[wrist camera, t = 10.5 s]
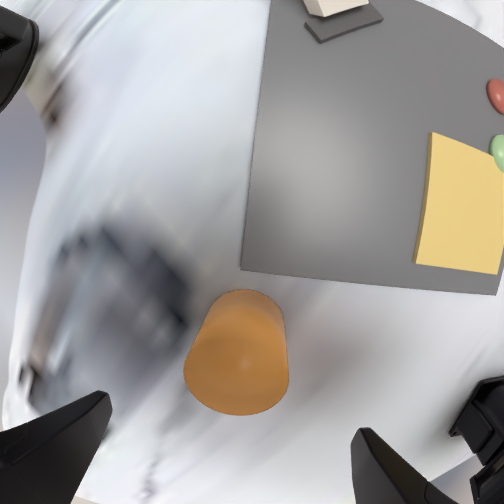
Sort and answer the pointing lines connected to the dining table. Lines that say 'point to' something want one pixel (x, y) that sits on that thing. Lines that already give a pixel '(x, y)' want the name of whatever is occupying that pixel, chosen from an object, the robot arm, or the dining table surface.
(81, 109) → the dining table surface
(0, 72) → the french press
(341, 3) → the lever
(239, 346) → the cap
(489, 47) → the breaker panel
